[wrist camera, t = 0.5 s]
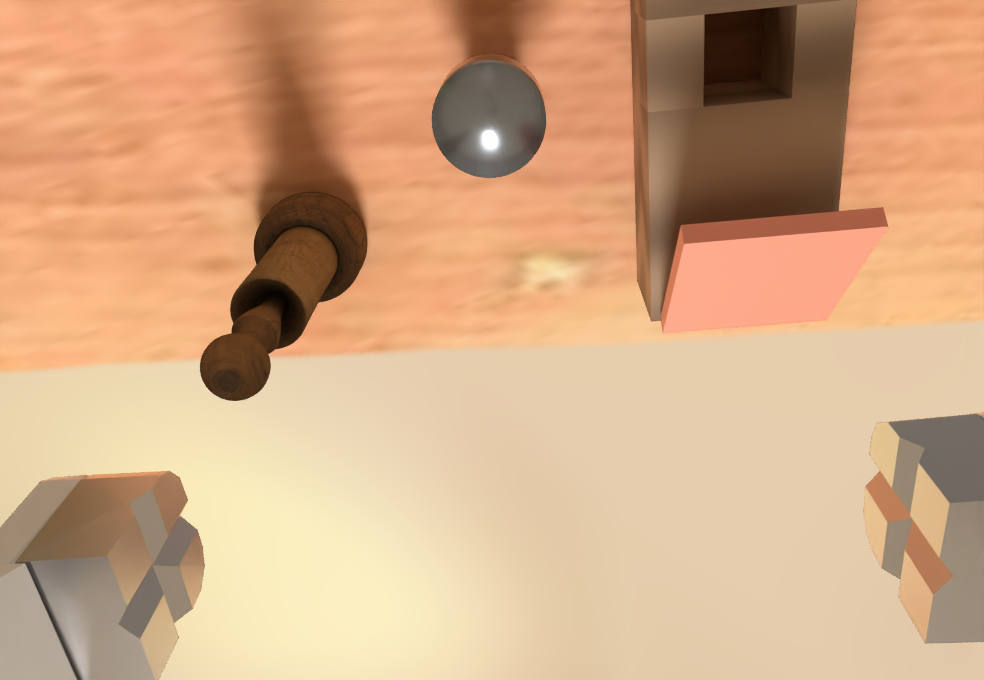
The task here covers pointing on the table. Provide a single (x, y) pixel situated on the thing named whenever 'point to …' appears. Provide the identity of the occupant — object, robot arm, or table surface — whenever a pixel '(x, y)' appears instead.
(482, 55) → the grey domed cylinder
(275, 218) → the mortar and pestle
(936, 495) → the robot arm
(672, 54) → the block
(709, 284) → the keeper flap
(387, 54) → the table surface
